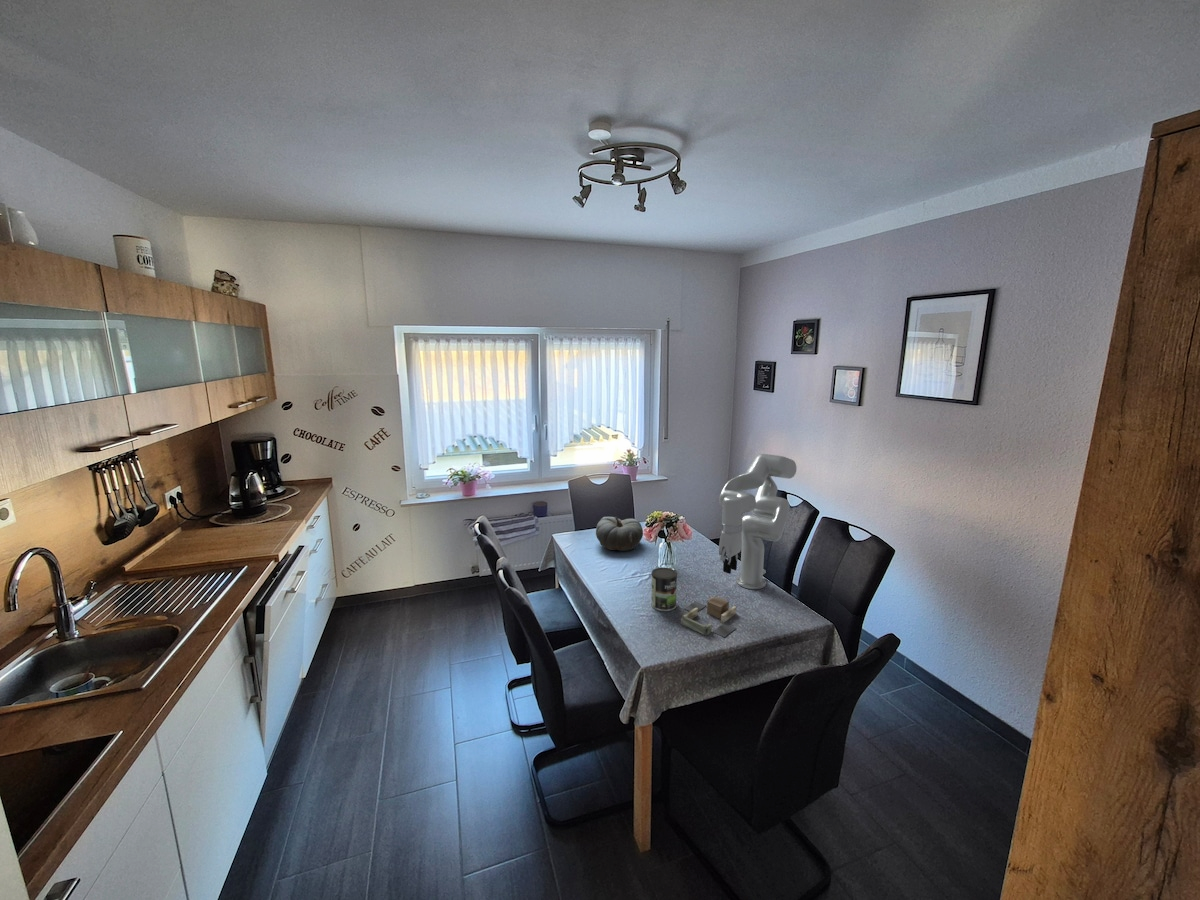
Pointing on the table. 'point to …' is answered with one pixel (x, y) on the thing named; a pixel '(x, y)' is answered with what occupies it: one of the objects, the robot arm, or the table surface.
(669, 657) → the table surface
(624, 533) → the gourd
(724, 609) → the block
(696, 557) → the table surface
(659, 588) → the coffee can
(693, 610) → the trap lane
